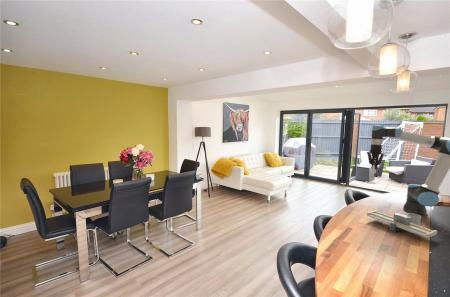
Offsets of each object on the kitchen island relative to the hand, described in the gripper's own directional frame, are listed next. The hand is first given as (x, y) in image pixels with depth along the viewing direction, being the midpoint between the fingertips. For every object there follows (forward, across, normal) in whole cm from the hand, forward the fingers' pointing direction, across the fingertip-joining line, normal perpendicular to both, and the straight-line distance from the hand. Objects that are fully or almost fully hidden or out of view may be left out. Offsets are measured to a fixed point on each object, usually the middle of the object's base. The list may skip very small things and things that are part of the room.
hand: (373, 173), depth 182 cm
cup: (+33, +29, -3) cm, 44 cm away
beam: (+28, +28, -17) cm, 43 cm away
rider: (+27, +30, -17) cm, 44 cm away
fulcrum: (+32, +28, -17) cm, 46 cm away
